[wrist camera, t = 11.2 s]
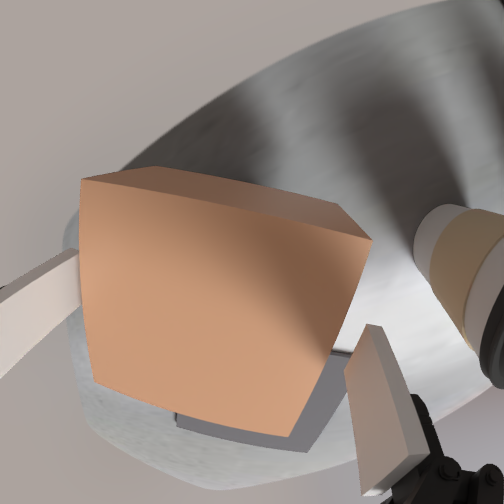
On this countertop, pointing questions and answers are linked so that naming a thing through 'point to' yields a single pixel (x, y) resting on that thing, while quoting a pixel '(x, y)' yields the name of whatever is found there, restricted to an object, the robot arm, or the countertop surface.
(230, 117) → the countertop surface
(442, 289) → the coffee cup
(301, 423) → the mat
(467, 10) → the countertop surface
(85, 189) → the orange block
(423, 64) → the countertop surface
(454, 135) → the countertop surface
